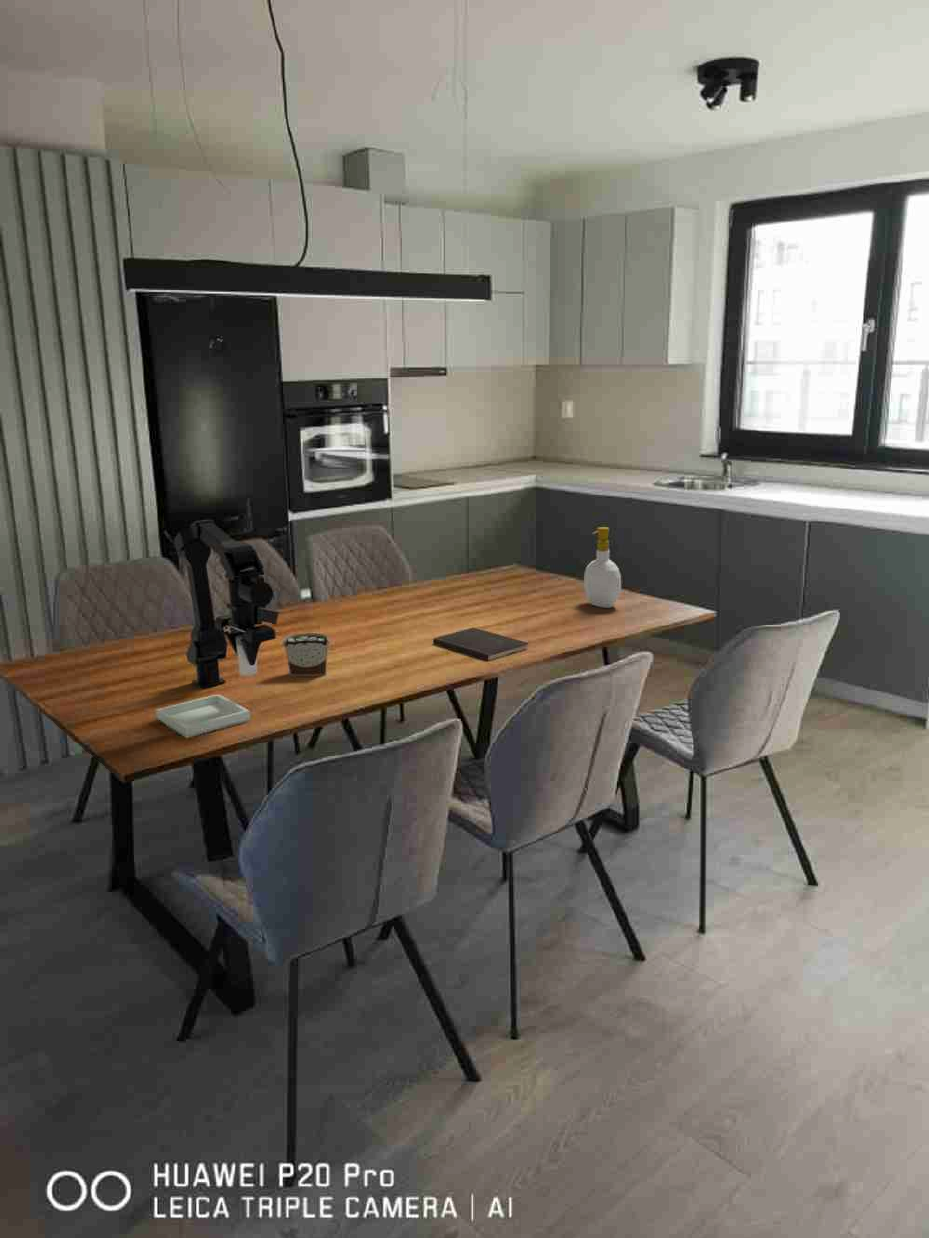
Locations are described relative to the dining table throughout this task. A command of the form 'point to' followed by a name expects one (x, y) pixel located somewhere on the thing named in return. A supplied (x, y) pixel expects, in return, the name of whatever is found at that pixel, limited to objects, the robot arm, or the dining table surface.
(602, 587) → the soap bottle
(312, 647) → the food container
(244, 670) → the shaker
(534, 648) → the dining table surface
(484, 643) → the hardcover book
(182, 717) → the tray
